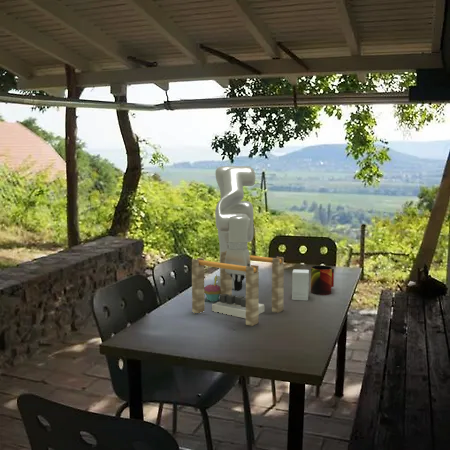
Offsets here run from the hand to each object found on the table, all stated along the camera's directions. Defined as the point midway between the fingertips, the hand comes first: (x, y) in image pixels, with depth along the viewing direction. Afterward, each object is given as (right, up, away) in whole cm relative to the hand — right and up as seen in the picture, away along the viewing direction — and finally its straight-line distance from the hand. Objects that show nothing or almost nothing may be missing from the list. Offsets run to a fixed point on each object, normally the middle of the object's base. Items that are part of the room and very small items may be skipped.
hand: (238, 290), depth 203 cm
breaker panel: (0, -9, +1) cm, 9 cm away
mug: (+41, -5, +33) cm, 53 cm away
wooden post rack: (0, -9, +1) cm, 9 cm away
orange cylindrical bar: (+6, +13, +7) cm, 16 cm away
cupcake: (-11, -7, +19) cm, 23 cm away
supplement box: (+29, -7, +21) cm, 36 cm away
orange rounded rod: (-6, +11, -10) cm, 15 cm away
